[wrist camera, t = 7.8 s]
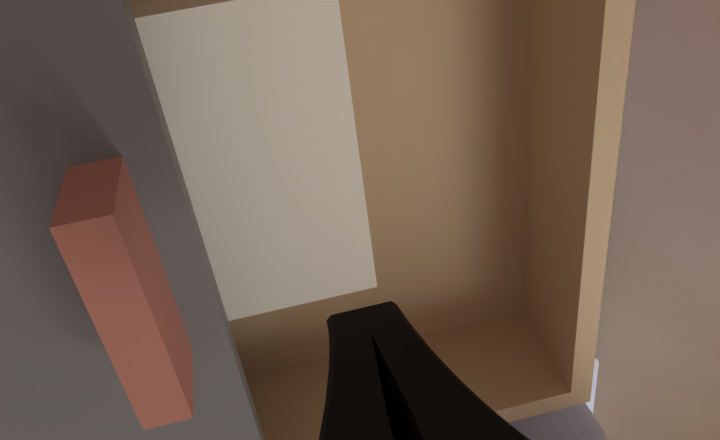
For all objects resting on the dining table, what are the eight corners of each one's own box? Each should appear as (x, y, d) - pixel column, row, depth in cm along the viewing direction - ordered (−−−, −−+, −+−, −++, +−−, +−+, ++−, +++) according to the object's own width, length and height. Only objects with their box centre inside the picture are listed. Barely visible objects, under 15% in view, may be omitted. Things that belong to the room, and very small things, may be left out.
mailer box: (533, 312, 29) (589, 401, 25) (109, 414, 27) (96, 528, 23) (559, -349, 17) (679, -385, 13) (-220, -245, 15) (-374, -248, 11)
